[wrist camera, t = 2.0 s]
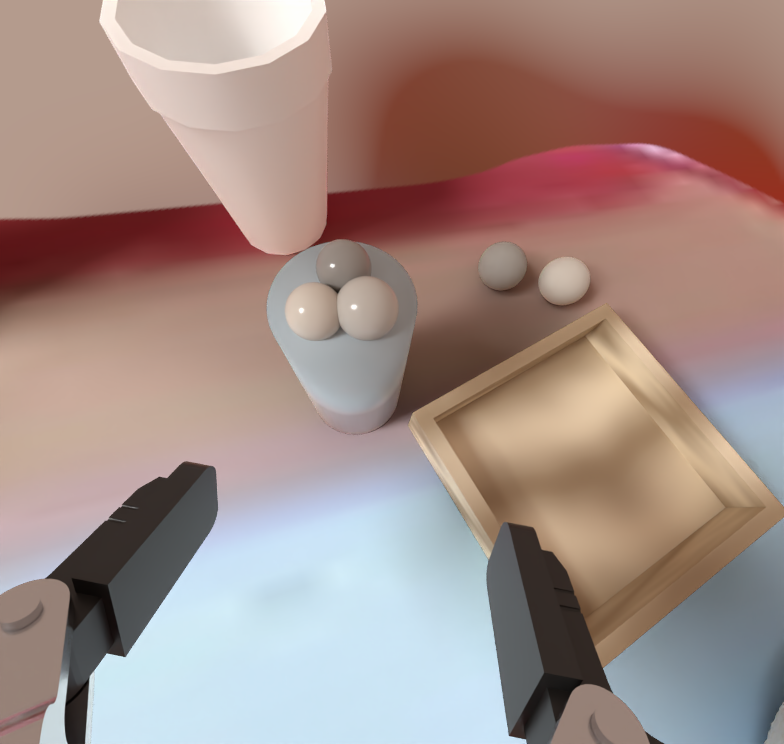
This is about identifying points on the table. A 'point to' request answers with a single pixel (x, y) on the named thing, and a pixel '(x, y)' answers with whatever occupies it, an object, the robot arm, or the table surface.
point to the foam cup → (240, 102)
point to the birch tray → (598, 473)
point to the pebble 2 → (564, 280)
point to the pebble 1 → (502, 265)
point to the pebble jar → (345, 330)
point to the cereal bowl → (777, 728)
